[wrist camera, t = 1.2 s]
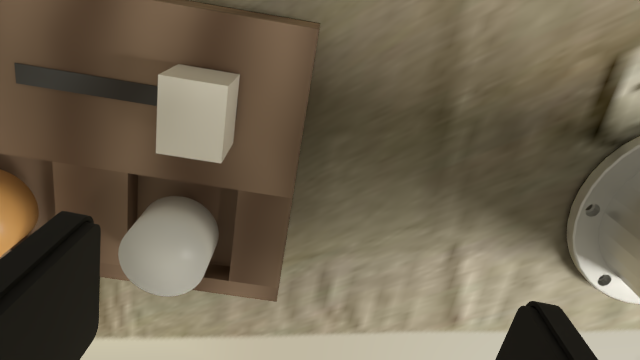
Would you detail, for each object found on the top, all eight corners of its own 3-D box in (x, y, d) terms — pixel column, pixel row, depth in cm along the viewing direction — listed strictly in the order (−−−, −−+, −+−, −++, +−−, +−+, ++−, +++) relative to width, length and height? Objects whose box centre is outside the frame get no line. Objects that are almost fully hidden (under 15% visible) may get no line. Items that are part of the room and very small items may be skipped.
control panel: (320, 23, 26) (319, 29, 22) (281, 265, 32) (276, 302, 28) (-89, -49, 24) (-165, -55, 21) (-48, 217, 31) (-100, 249, 27)
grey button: (221, 202, 25) (209, 228, 23) (215, 269, 27) (203, 301, 24) (141, 190, 25) (118, 215, 22) (139, 258, 27) (118, 290, 24)
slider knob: (239, 74, 23) (228, 86, 20) (233, 143, 24) (221, 163, 21) (178, 64, 22) (158, 74, 20) (175, 134, 24) (155, 153, 21)
